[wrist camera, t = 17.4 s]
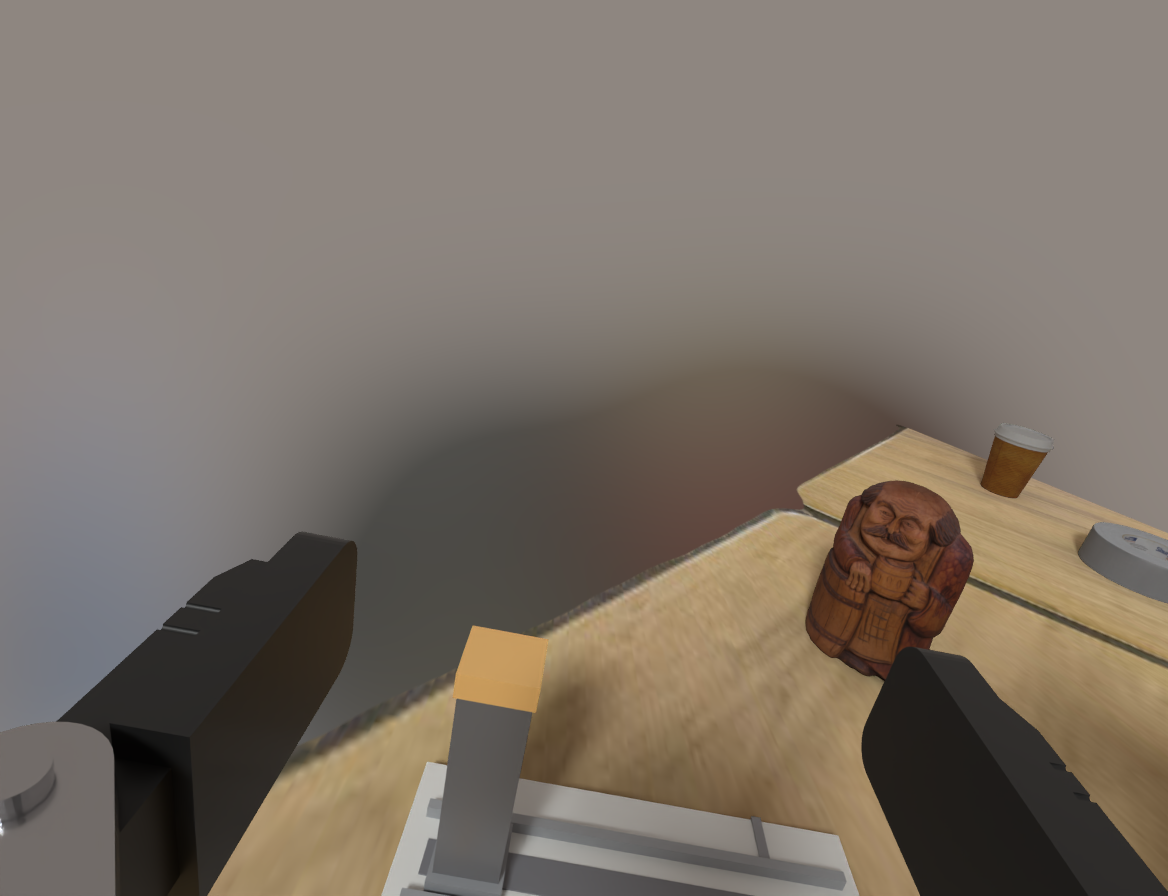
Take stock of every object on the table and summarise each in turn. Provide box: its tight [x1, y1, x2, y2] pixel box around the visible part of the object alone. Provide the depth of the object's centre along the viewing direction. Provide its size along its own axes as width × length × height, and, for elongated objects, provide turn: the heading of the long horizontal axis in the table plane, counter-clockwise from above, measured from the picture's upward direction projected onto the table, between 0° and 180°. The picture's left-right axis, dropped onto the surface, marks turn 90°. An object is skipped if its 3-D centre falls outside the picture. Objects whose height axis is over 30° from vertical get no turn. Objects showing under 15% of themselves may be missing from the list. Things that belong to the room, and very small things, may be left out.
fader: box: [424, 626, 548, 896], centre depth 32 cm, size 4×4×14 cm
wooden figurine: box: [806, 481, 974, 680], centre depth 58 cm, size 12×6×18 cm, turn 49°
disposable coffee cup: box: [981, 423, 1054, 498], centre depth 117 cm, size 10×10×12 cm
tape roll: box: [1078, 522, 1168, 603], centre depth 92 cm, size 15×15×5 cm
